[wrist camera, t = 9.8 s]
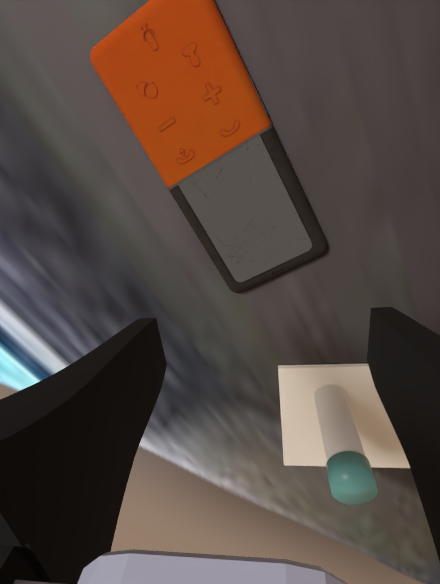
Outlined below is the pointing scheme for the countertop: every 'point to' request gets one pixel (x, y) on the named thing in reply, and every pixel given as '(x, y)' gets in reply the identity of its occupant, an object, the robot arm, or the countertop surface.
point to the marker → (343, 448)
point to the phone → (209, 138)
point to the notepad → (305, 425)
